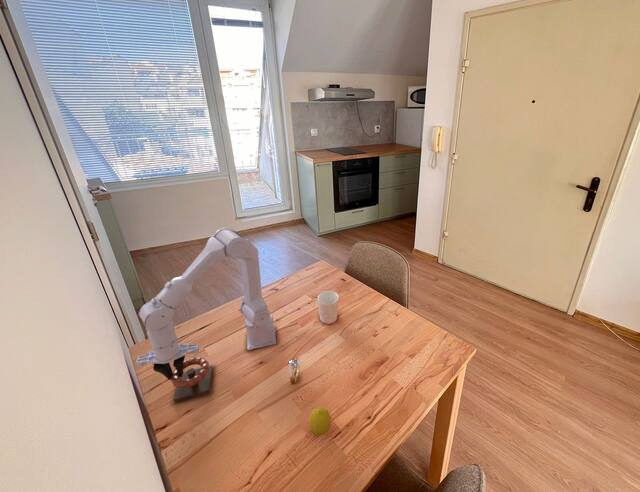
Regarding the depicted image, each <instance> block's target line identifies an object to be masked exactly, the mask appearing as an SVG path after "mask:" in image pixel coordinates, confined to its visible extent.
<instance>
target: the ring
mask: <svg viewBox="0 0 640 492" xmlns="http://www.w3.org/2000/svg"><path fill="white" fill-rule="evenodd" d="M300 365H301V363H300V358H299V357H294V358H292V359H291V360H290V361H289V362H288V367H289V379H290V380H289V381H290V384H291V385H296V383H297V381H298V380H299V379H298V378H299V375H300V374H299V373H300ZM293 370H294V373H293Z"/></svg>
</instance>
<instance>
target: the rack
mask: <svg viewBox="0 0 640 492" xmlns="http://www.w3.org/2000/svg"><path fill="white" fill-rule="evenodd" d="M200 371H201V367H199V368H193V367H190V368H189V369H188V370H186V371H183V375H182V377H180V379H182V380H188V379H192V378H193V377H195V376H196V375H198V373H199V372H200ZM212 377H213V365H209V369H208V373H207V374H206V376H205V377H204V378H203V380H202V381H200V382H198V383H197V384H195V385H194V386H191V387H187V388H179V387H175V393H174V396H173V402H174V403H179V402H183V401H186V400H190V399H194V398H196V397H201V396H204V395H209V394H210V392H211V384H212Z"/></svg>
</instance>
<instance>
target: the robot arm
mask: <svg viewBox="0 0 640 492" xmlns="http://www.w3.org/2000/svg"><path fill="white" fill-rule="evenodd" d="M228 257H229V258H231V259H235V260H236V259H237V260H239V262H240V270H241V277H242V286H243V287H242V288H243V295H244V296H243V297H241V304H240V307H239V312H240V313H241V315H243V316H244V324H245V328H246V335H247V336H246V337H247V339H246V340H247V341H246V345H247V347H246V348H247V349H246V350H247V351H251V350H255V349H260V348H264V347H267V346H273V345H276V344H277V338H276V334H277V330H276V328H275V321H274V315H273V314H271V311H270V310H269V309H268V305H267V303H266V301H265V299H264V298H263V295H262V294H263V293H262V284H261V283H262V282H261V271H260V269H261V268H260V257H259V249H258V248H257V246H255V245H254V244H253V243H252V242H251V240H250V239H248V238H246V236H244V235H242V234H241V233H239V232H238V231H236V230H234V229H232V228H229V227H221V228H219V229H218V230H217V231H215V232H214V234H213V235H212V236H211V237H210V238H209V239H208V240H207V242H206V245H205V247H204V248H203V249H202V250H201V252H200V253H199V254H198V255H197V256H196V258H195V259H194V260H193V261H192V263H191V264H190V265H189V267H187V269H186V270H185V271H184V272H183V273H182V275H181V276H178V277H173V278H172V279H171V280H170V281H167V282H166V283H165V284H164V287H163V288H162V289H161V291H160V292H158V294H157V295H156V296H155V297H154V298H152V299H151V300H150V301H148V302H146V303H144V304H143V305H142V306H141V307H140V310H139V312H138V317H139V318H140V319H141V321H142V322H143V325H144V326H145V331H146V334H147V337H148V340H149V343H150V346H151V348H152V351H149V352H148V353H146V354H145V353H144V354H143V355H140V356H138V357H137V359H136V366H137V367H138V368H141V367H144V365H146V364H153V367H152V369H153V372H157V373H159V374H161V375H162V376H164V377H165V378H166V379H167V380H168V381H171V377H172V373H173V369H172V367H171V364H170V363H172V362H173V363H172V366H173V367H174V369H175V368H176V370H177V373H178V376H179V377H182V375H183V372H184V370H183V362H184V361H185V357H186V356H187V355H189V354H194V355H198V354H199V351H200V345H199V343H179V340H178V336H177V333H176V329H175V327H174V324H173V322H172V320H173V319H174V317H173V316H174V313H175V310H177V308H179V306H180V305H181V304H182V303H183V301H185V299H186V298H187V297H188V296H189V295H190V294H191V293H192V292H193V284H194V283H195V282H196V281H197V280H198V279H199V278H200V277H201V276H202V275H204V273H205V272H206V271H207V270H208V269H210V267H211V266H212V265H214V264H215V263H219V262H228V261H229V258H228Z"/></svg>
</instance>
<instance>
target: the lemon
mask: <svg viewBox="0 0 640 492" xmlns="http://www.w3.org/2000/svg"><path fill="white" fill-rule="evenodd" d="M308 422H309V423H308V424H309V425H308V426H309V429H310V431H311V432H312V435H313V434H314V436H317V437H322V436H324V435H326V434H327V433H328V432H329V430H330V428H331V425H332V417H331V414H330V412H329V410H328V409H327V408H325V407H322V406H320V407H316V408H315V409H313V411H312V412H311V413H310V417H309V421H308Z"/></svg>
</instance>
